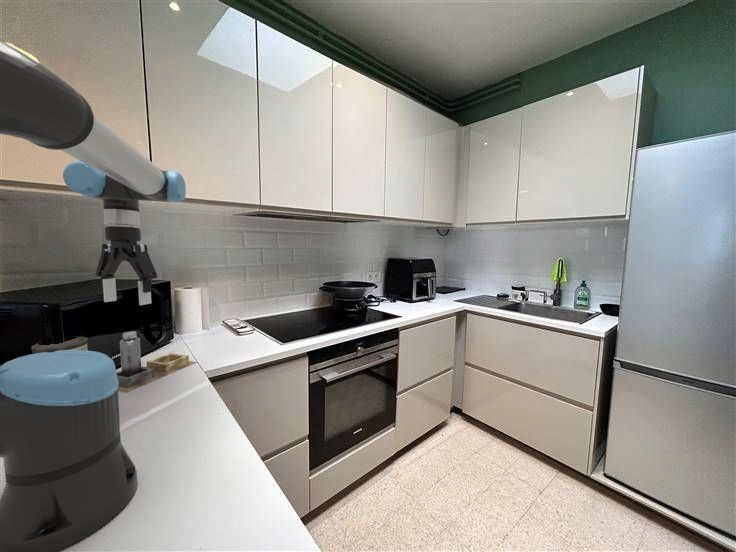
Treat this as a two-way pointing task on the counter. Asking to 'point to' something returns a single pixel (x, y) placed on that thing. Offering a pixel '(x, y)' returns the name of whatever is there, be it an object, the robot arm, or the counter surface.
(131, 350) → the grey cylinder
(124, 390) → the tool stand
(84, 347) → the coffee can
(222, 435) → the counter surface
